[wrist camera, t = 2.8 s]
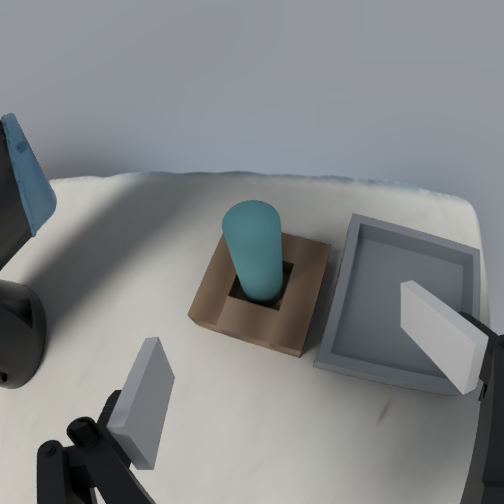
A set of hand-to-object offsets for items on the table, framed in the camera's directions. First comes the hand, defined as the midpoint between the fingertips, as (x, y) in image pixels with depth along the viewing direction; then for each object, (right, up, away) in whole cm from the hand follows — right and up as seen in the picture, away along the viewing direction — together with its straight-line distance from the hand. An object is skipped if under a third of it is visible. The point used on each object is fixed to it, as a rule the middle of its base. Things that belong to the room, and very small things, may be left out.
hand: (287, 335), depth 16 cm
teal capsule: (-1, 0, +16) cm, 16 cm away
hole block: (-1, 0, +17) cm, 17 cm away
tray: (+14, -2, +14) cm, 20 cm away
